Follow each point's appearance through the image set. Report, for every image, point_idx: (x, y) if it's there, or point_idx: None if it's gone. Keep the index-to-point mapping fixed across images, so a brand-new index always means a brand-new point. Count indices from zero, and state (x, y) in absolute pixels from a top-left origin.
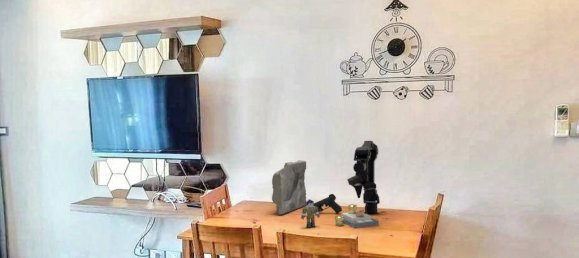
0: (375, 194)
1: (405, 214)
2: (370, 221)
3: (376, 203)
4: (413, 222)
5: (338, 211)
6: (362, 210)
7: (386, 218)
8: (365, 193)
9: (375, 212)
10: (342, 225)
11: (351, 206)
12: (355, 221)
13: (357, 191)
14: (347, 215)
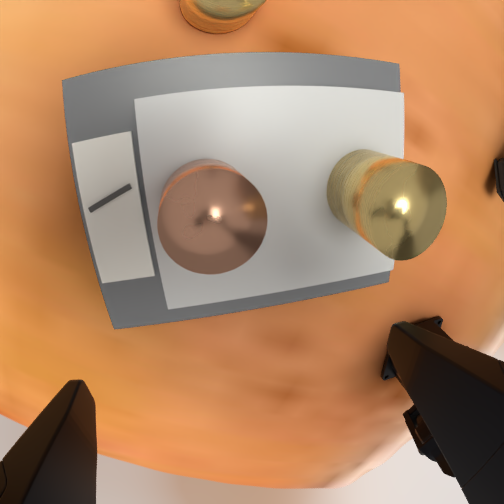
0: (433, 455)
1: (309, 457)
2: (96, 259)
3: (410, 411)
4: (154, 457)
5: (502, 172)
6: (221, 263)
7: (280, 393)
8: (11, 497)
9: (393, 368)
10: (182, 13)
11: (382, 180)
12: (131, 120)
13: (478, 396)
14: (298, 94)
